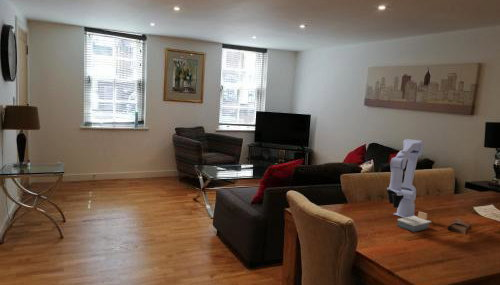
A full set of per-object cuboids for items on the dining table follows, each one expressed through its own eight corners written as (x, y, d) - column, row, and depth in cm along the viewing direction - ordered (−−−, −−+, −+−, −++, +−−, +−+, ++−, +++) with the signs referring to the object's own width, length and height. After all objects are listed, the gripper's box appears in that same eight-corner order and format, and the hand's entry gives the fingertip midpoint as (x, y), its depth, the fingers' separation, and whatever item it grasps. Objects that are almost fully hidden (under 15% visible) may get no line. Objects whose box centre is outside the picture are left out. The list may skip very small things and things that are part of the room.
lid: (414, 219, 195) (415, 210, 195) (431, 225, 187) (432, 215, 187) (397, 222, 188) (398, 213, 187) (413, 229, 179) (414, 218, 179)
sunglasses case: (466, 234, 181) (460, 222, 182) (452, 238, 185) (446, 225, 186) (471, 226, 195) (465, 214, 196) (458, 229, 199) (452, 218, 200)
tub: (412, 223, 195) (413, 217, 194) (428, 228, 187) (429, 223, 187) (397, 226, 188) (398, 220, 187) (413, 232, 180) (413, 226, 180)
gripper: (384, 176, 197) (382, 200, 198) (392, 182, 182) (389, 208, 184) (397, 177, 196) (395, 201, 198) (406, 183, 182) (404, 209, 183)
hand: (393, 205), depth 191 cm, fingers open, 7 cm apart
